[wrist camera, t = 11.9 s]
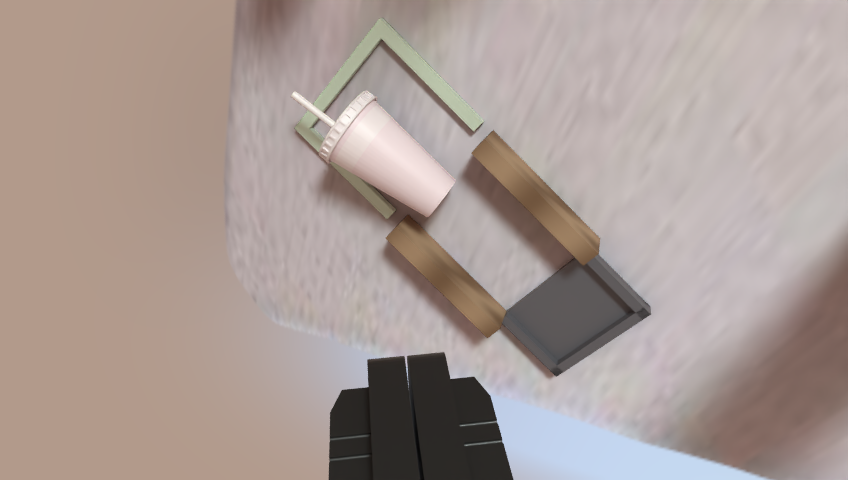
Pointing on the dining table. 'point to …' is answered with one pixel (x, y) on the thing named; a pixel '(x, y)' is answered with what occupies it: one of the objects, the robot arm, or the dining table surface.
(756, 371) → the dining table surface
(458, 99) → the frame
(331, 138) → the smoothie
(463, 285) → the walnut channel
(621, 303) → the tray
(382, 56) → the dining table surface
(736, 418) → the dining table surface
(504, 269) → the dining table surface
